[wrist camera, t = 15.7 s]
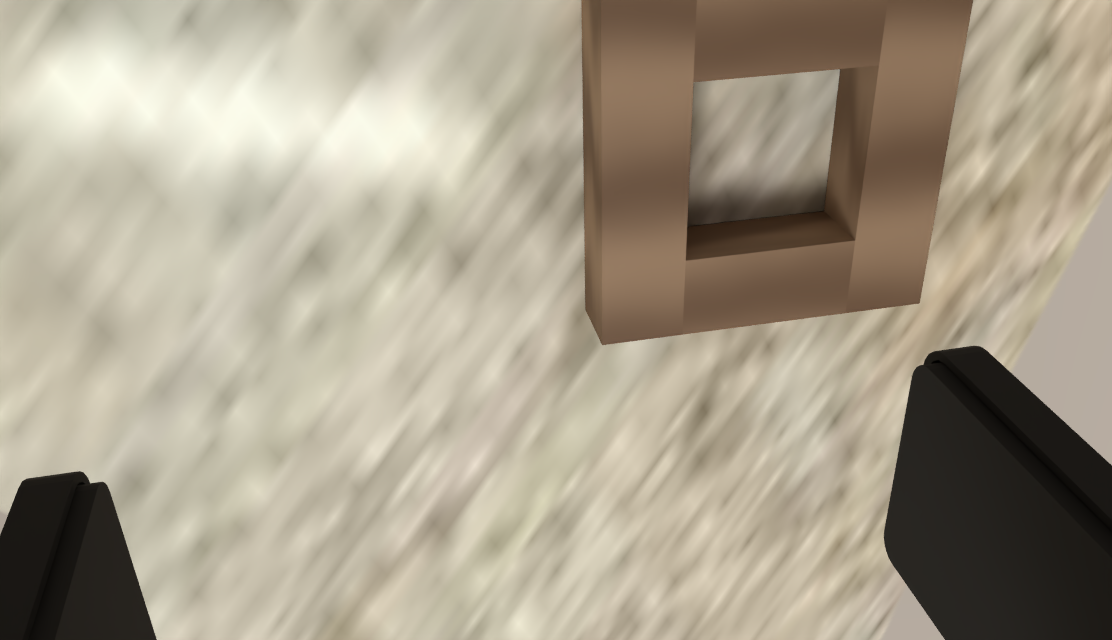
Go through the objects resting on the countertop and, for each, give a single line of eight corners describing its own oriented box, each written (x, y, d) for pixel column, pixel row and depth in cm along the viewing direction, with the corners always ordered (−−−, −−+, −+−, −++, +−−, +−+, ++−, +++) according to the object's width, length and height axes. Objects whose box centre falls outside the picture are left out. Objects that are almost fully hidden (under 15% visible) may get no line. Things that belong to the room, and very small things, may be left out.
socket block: (581, -26, 37) (601, -8, 34) (936, -52, 39) (979, -36, 37) (585, 309, 44) (602, 345, 42) (886, 271, 46) (919, 303, 44)
